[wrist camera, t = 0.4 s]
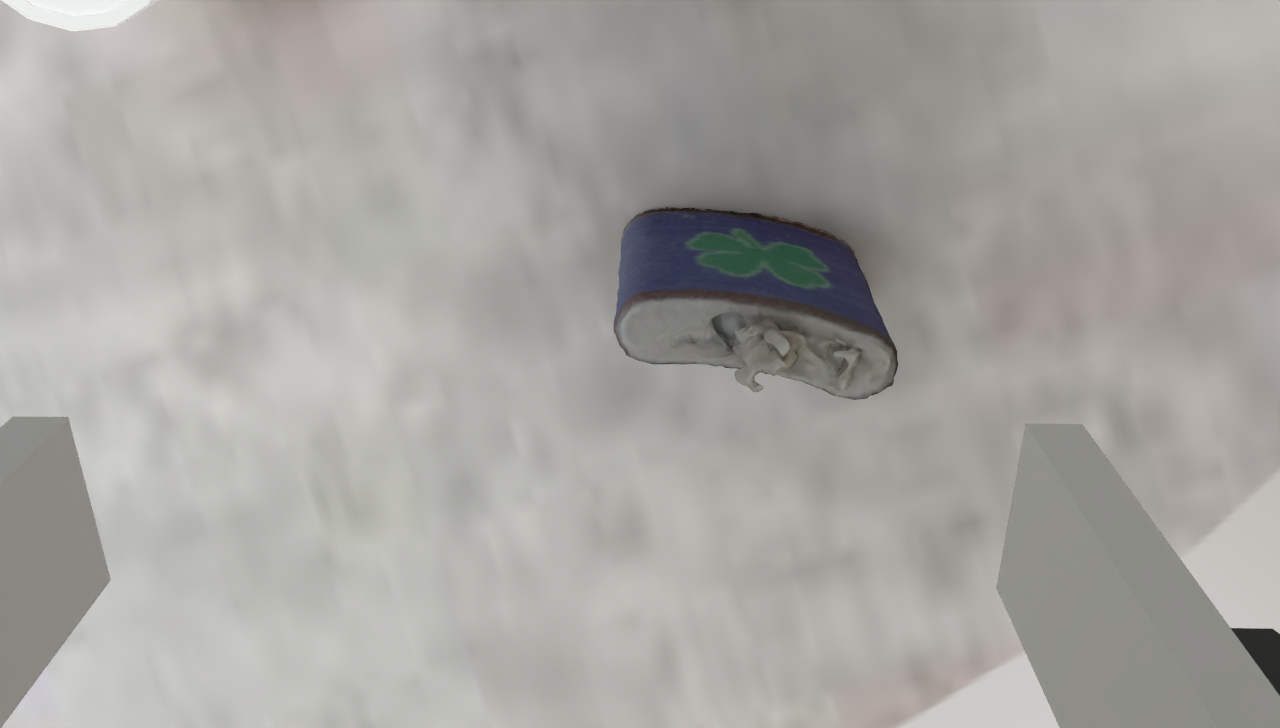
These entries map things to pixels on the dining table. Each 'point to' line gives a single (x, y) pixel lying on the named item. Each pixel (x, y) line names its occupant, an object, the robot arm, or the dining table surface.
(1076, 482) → the robot arm
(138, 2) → the beverage cup
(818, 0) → the dining table surface
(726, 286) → the flask
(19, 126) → the dining table surface
